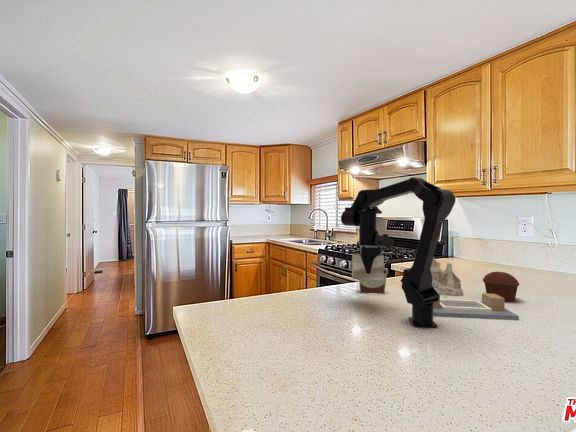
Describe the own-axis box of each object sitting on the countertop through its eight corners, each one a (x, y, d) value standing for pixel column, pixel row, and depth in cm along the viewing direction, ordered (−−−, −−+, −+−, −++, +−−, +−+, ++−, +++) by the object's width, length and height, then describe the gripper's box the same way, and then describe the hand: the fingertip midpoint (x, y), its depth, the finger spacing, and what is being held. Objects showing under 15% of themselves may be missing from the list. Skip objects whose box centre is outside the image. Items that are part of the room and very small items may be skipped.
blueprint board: (518, 319, 96) (519, 302, 96) (425, 315, 99) (425, 299, 99) (493, 305, 110) (493, 290, 110) (412, 302, 114) (413, 287, 114)
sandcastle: (462, 297, 120) (461, 257, 121) (417, 293, 129) (416, 256, 130) (465, 291, 134) (463, 255, 134) (423, 288, 142) (422, 254, 143)
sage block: (383, 280, 106) (383, 256, 105) (353, 279, 107) (353, 255, 107) (381, 277, 111) (381, 254, 110) (352, 276, 112) (352, 253, 112)
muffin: (526, 301, 116) (527, 274, 115) (506, 304, 111) (506, 276, 111) (495, 293, 127) (495, 268, 126) (475, 296, 122) (475, 270, 122)
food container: (385, 290, 132) (385, 266, 131) (388, 294, 125) (388, 268, 125) (355, 289, 133) (355, 265, 133) (356, 293, 127) (356, 268, 126)
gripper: (397, 228, 98) (397, 278, 98) (387, 225, 117) (386, 268, 117) (361, 228, 100) (361, 277, 100) (356, 225, 118) (356, 267, 118)
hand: (367, 272), depth 109 cm, fingers closed on sage block, 5 cm apart
